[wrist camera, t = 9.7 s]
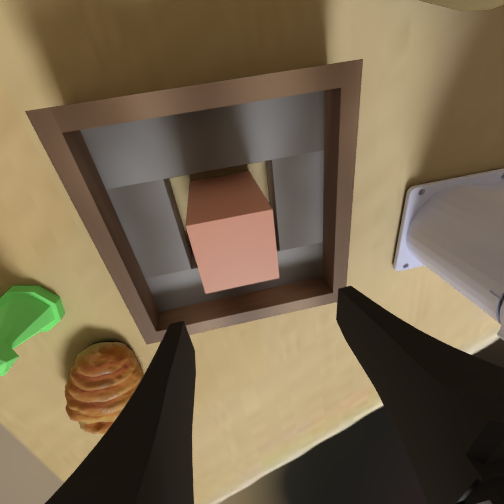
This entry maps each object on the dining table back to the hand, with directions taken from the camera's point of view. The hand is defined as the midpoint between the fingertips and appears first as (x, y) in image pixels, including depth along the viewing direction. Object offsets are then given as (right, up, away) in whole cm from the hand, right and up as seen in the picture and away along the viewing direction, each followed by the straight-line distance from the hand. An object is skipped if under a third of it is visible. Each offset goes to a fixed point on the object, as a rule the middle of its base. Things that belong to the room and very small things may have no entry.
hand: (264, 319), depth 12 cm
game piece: (-18, -1, +8) cm, 19 cm away
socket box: (-3, +6, +7) cm, 10 cm away
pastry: (-15, -9, +14) cm, 22 cm away
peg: (-3, +7, +7) cm, 10 cm away
